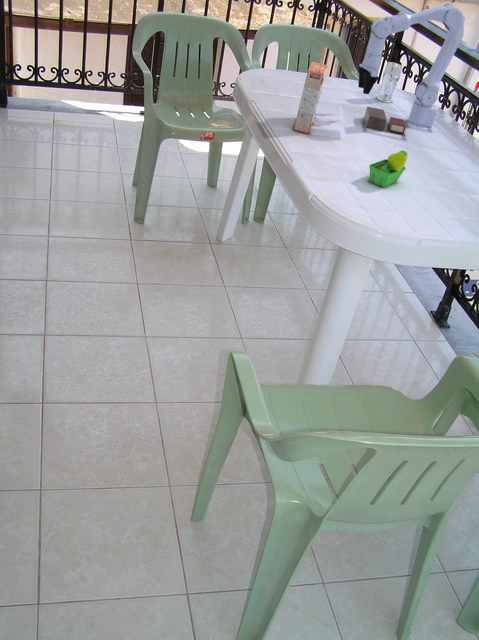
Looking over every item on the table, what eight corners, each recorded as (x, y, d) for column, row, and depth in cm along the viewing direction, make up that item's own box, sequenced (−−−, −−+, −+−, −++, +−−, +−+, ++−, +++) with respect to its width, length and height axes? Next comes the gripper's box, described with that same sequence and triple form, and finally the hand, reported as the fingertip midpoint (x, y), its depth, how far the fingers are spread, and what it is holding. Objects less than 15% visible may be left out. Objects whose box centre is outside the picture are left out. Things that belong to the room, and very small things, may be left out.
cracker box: (309, 134, 236) (324, 73, 225) (292, 130, 237) (306, 69, 225) (313, 123, 248) (328, 64, 236) (297, 119, 248) (311, 60, 237)
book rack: (400, 129, 261) (405, 114, 258) (404, 140, 251) (409, 124, 248) (362, 121, 261) (367, 106, 257) (364, 131, 251) (369, 115, 247)
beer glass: (373, 97, 293) (383, 61, 285) (385, 97, 296) (396, 62, 288) (382, 102, 288) (393, 66, 280) (395, 103, 292) (406, 67, 283)
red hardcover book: (400, 127, 258) (403, 119, 257) (403, 134, 252) (405, 126, 250) (388, 124, 258) (390, 116, 257) (390, 131, 252) (392, 123, 250)
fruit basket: (381, 173, 218) (391, 139, 211) (405, 184, 214) (417, 149, 207) (363, 180, 210) (374, 145, 203) (388, 191, 206) (400, 156, 199)
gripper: (358, 47, 257) (349, 83, 265) (368, 57, 246) (357, 94, 253) (376, 50, 259) (366, 86, 266) (386, 60, 247) (375, 97, 254)
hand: (363, 90), depth 260 cm, fingers open, 7 cm apart
